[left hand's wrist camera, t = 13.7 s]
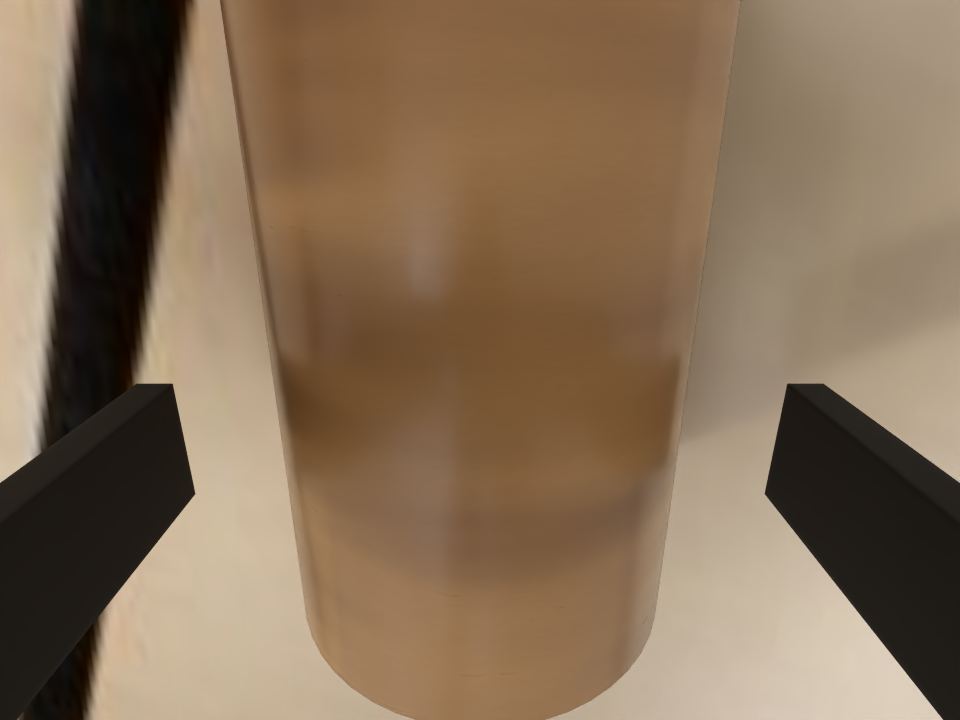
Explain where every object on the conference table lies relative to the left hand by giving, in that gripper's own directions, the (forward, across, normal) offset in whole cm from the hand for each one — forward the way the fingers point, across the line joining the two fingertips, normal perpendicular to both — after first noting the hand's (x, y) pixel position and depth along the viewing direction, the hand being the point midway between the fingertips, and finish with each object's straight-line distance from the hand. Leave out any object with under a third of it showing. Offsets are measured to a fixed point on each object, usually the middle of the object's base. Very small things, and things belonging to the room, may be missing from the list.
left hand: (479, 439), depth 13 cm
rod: (+4, 0, -10) cm, 11 cm away
